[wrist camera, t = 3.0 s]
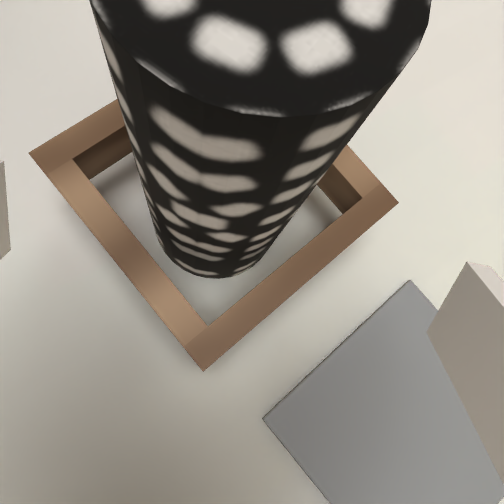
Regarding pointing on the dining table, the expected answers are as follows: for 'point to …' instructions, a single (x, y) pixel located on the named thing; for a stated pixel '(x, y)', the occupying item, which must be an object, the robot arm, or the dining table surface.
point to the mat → (387, 418)
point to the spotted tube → (245, 108)
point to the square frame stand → (147, 270)
